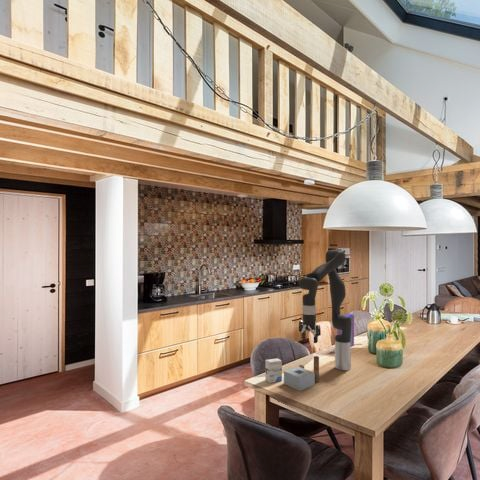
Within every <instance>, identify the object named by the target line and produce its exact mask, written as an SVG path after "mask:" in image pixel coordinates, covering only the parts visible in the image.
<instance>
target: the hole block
mask: <svg viewBox="0 0 480 480" xmlns="http://www.w3.org/2000/svg"><path fill="white" fill-rule="evenodd" d="M315 383H316V382H315V373H314V371H311V370H309V369H305V367H304V368H301V367H299V366H296V367H293V368H290V369H286V370H283V384H284V385H285V386H288V387H291V388H292V389H295V390H297V391H299V392H300V391H303V390H305V389H306V390H307V389H308V388H312V387H314V386H315V385H316V384H315Z"/></svg>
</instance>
